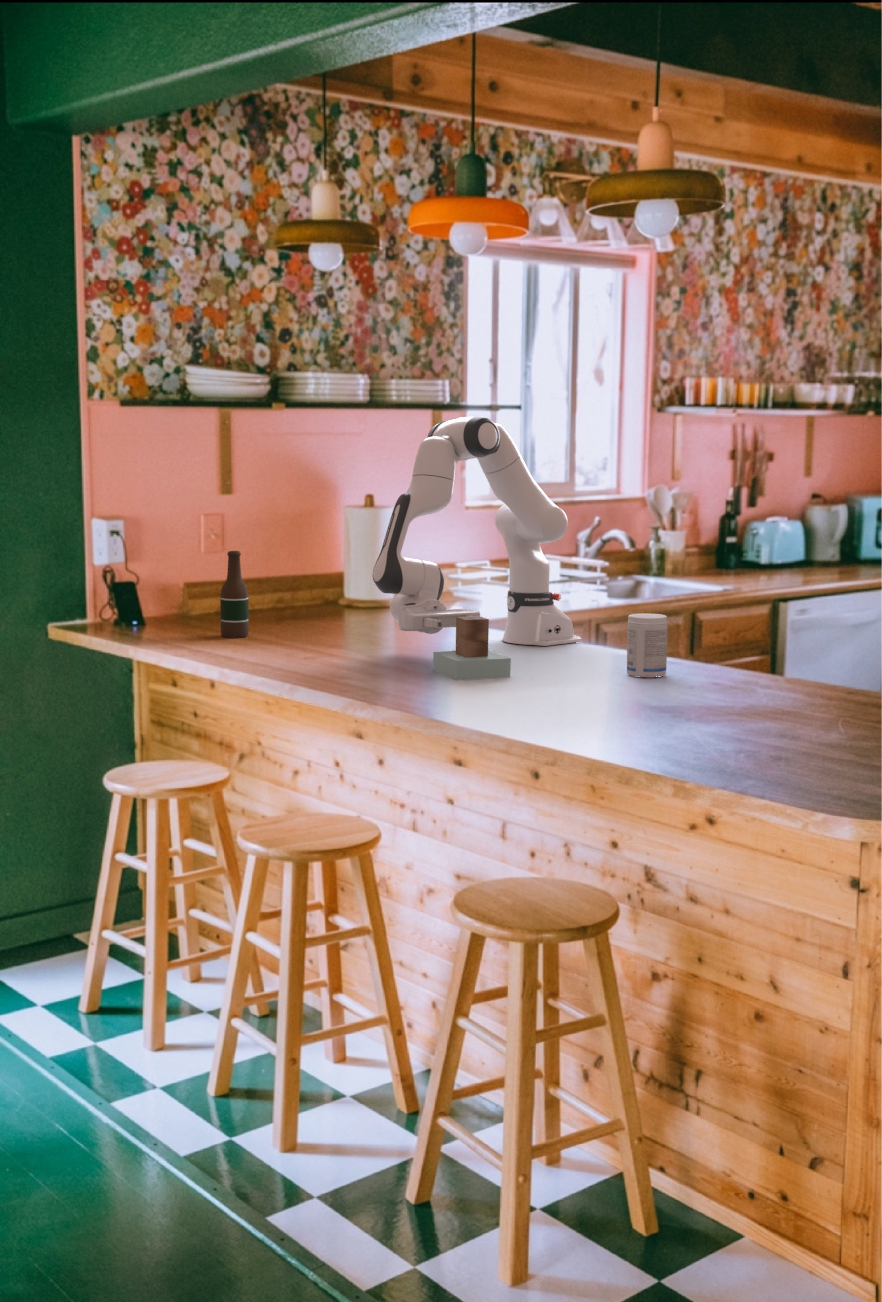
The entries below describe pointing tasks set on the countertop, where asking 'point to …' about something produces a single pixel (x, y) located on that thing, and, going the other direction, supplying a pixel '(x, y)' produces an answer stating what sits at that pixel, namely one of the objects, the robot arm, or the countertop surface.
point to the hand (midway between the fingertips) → (455, 623)
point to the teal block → (471, 665)
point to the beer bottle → (234, 601)
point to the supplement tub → (647, 645)
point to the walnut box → (472, 636)
